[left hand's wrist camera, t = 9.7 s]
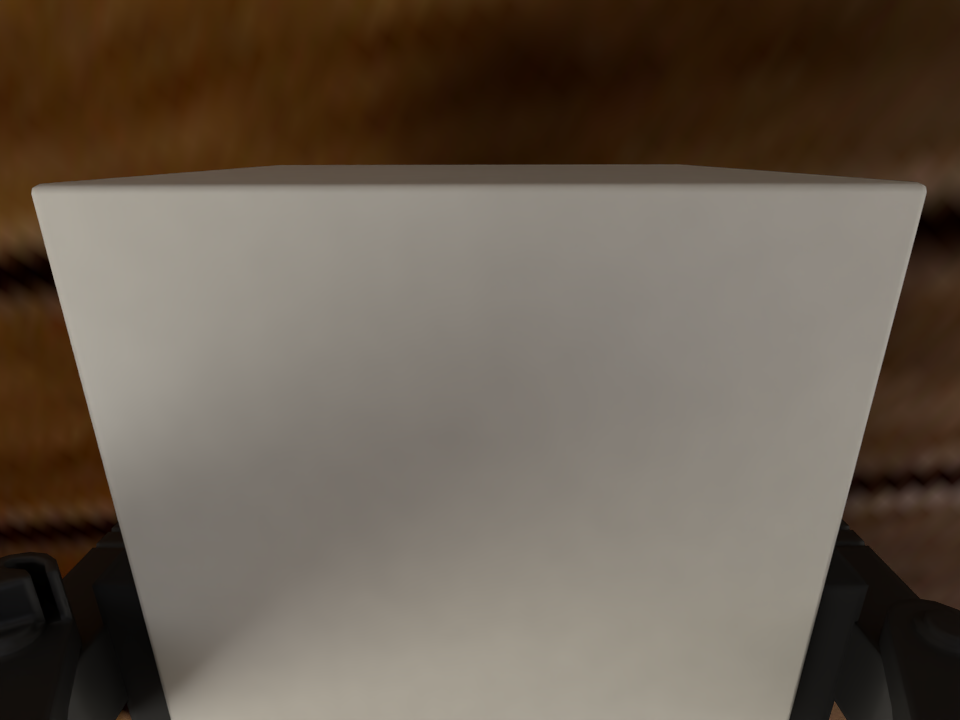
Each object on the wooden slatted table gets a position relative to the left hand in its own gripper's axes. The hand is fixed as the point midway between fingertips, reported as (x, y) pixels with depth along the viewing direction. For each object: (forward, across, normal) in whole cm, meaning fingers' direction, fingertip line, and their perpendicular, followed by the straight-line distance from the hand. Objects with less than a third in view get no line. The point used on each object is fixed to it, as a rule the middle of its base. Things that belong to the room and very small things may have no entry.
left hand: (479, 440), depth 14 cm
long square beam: (+1, 0, -26) cm, 26 cm away
